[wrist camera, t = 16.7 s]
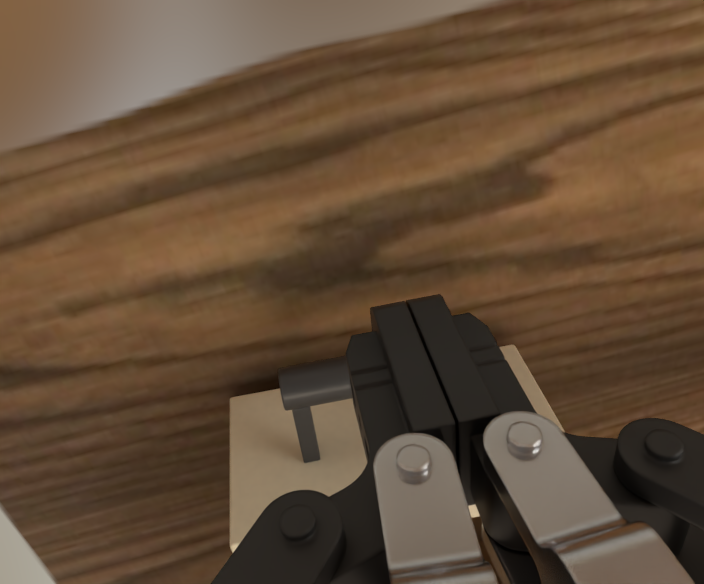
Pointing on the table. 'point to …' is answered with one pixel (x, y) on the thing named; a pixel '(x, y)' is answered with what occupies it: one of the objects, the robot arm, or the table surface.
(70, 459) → the table surface
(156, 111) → the table surface
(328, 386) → the drawer
